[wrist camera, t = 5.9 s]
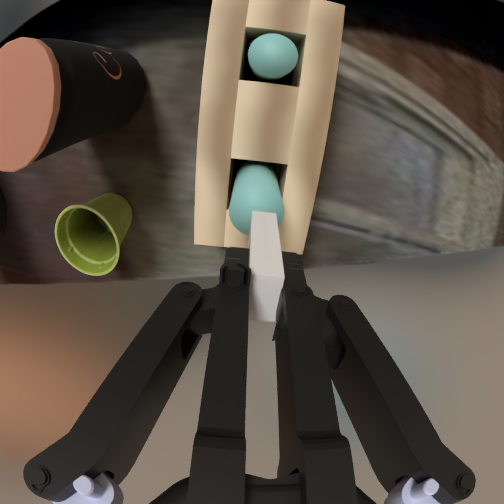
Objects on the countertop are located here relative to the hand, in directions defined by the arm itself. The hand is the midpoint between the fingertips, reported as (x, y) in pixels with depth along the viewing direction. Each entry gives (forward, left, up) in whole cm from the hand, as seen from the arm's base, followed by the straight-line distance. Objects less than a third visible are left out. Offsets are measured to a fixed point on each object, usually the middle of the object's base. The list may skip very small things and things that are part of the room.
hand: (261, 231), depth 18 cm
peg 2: (0, 0, -12) cm, 12 cm away
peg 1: (0, +12, -17) cm, 21 cm away
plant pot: (-19, -8, -18) cm, 27 cm away
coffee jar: (-19, +9, -18) cm, 28 cm away
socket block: (0, +6, -17) cm, 18 cm away
